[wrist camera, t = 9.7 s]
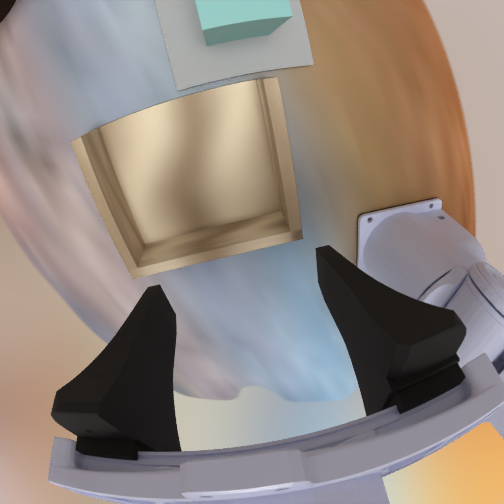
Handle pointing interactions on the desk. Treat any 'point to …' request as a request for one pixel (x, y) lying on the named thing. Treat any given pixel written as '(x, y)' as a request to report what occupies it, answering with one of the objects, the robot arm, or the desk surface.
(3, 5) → the coffee mug
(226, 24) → the block
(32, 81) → the desk surface
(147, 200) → the tan shallow tray
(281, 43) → the pad
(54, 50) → the desk surface
